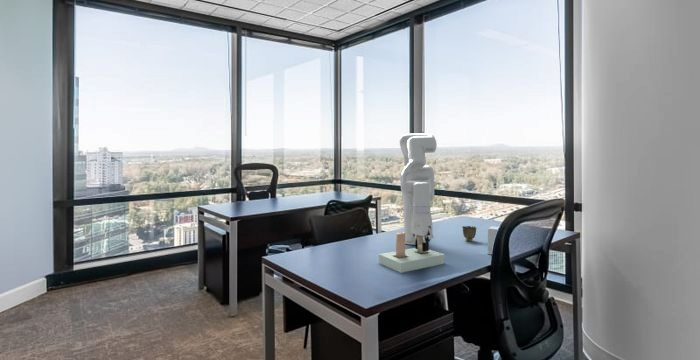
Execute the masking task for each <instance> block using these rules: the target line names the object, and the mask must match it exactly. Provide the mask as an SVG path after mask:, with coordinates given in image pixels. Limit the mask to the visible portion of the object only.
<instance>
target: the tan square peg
mask: <svg viewBox="0 0 700 360" xmlns="http://www.w3.org/2000/svg"><path fill="white" fill-rule="evenodd" d="M405 249H406V244H405V233H403V232H396V233H395V251H396V258H399V259H401V258H405Z"/></svg>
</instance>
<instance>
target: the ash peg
mask: <svg viewBox="0 0 700 360" xmlns="http://www.w3.org/2000/svg"><path fill="white" fill-rule="evenodd" d="M425 238H427V237H425ZM422 243H423V236H419V235H417V244H418V252H417V253H418V254H421V255H422V254H427V251H425V252H423V251H422Z"/></svg>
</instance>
